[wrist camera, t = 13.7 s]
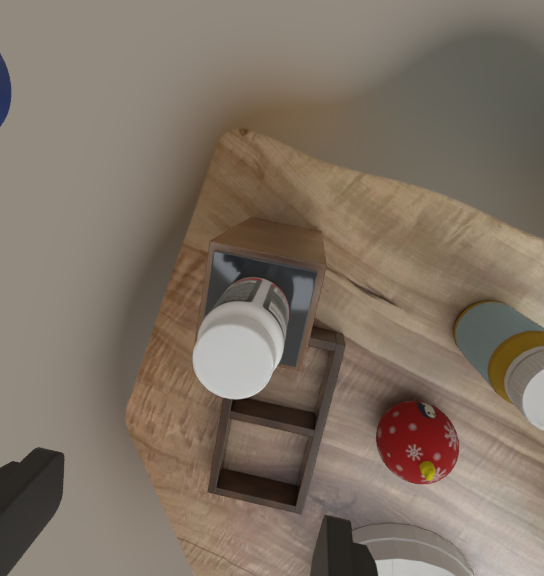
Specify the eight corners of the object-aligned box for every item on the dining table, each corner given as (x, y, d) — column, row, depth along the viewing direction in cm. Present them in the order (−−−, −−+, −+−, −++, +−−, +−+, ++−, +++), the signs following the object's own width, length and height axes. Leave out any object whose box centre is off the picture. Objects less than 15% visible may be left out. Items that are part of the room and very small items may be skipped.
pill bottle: (211, 326, 28) (170, 385, 20) (234, 265, 27) (200, 301, 19) (274, 352, 28) (258, 421, 20) (300, 292, 27) (295, 340, 19)
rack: (213, 472, 54) (207, 492, 50) (242, 311, 47) (237, 322, 44) (302, 493, 53) (301, 514, 50) (343, 333, 47) (345, 345, 43)
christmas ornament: (362, 438, 50) (373, 499, 40) (384, 378, 48) (402, 428, 38) (429, 457, 50) (457, 524, 40) (455, 398, 47) (491, 453, 38)
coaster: (201, 343, 29) (199, 346, 29) (215, 249, 27) (213, 250, 27) (296, 364, 29) (296, 367, 28) (317, 270, 27) (317, 272, 26)
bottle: (531, 322, 44) (637, 390, 30) (486, 369, 46) (565, 454, 32) (481, 286, 44) (563, 338, 29) (438, 335, 46) (496, 406, 31)
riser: (238, 286, 47) (193, 348, 29) (250, 217, 44) (209, 240, 27) (306, 300, 46) (302, 371, 29) (321, 231, 44) (326, 264, 27)
